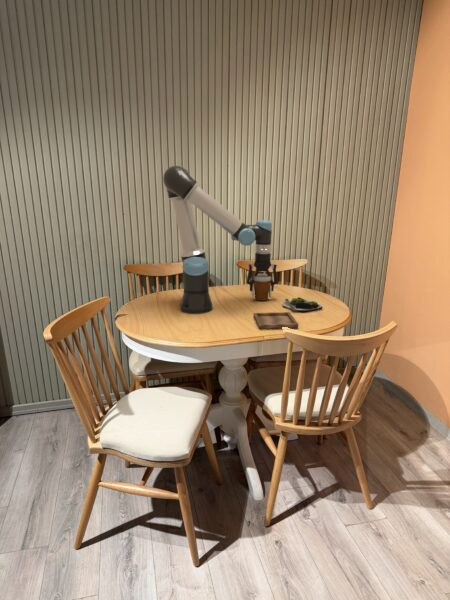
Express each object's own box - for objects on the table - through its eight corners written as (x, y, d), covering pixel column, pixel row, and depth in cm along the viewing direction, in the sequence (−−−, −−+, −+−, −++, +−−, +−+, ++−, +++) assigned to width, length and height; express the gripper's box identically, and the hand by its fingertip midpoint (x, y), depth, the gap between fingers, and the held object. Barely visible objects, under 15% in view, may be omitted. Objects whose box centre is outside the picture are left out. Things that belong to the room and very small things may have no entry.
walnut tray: (259, 329, 168) (259, 325, 167) (253, 317, 183) (253, 312, 183) (298, 328, 169) (298, 324, 168) (289, 316, 184) (289, 312, 184)
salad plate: (271, 304, 203) (272, 295, 202) (300, 299, 211) (301, 290, 210) (297, 315, 187) (297, 305, 185) (327, 309, 195) (327, 300, 194)
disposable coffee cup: (271, 301, 205) (272, 277, 201) (252, 301, 205) (252, 277, 202) (269, 296, 214) (270, 273, 211) (251, 296, 214) (252, 273, 211)
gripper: (242, 254, 199) (241, 299, 205) (285, 253, 200) (283, 299, 206) (240, 251, 206) (239, 295, 212) (282, 251, 207) (280, 295, 214)
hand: (261, 297), depth 209 cm, fingers closed on disposable coffee cup, 8 cm apart
